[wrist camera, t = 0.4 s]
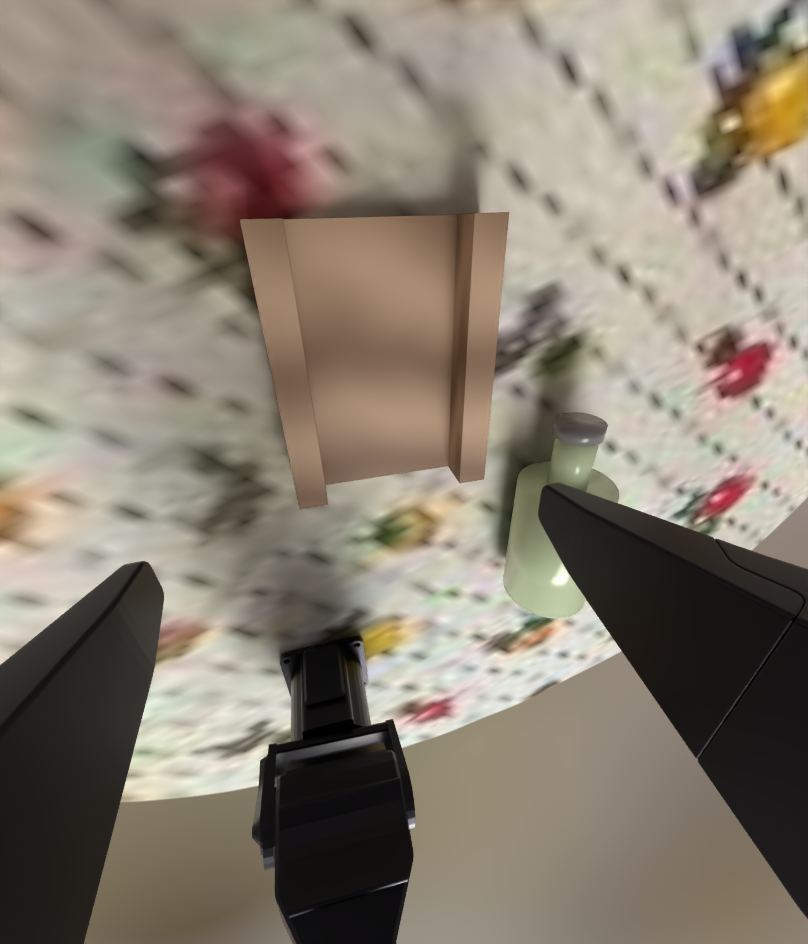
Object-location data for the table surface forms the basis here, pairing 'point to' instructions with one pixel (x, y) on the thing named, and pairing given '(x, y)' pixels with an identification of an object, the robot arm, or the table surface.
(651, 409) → the table surface
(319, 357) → the rest
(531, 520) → the bottle
